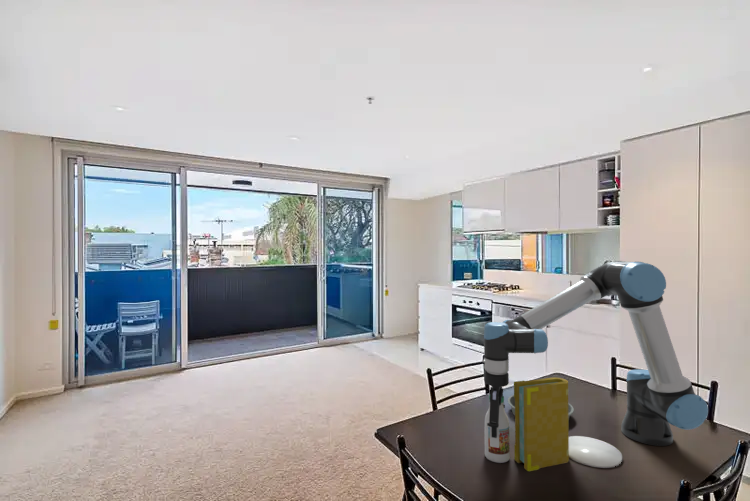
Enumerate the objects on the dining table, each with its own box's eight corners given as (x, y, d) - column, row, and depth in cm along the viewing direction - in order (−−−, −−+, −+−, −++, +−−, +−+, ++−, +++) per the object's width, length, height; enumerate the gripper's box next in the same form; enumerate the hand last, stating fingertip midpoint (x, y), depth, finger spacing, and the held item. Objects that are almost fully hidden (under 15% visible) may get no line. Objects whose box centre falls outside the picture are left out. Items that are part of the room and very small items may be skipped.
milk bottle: (480, 457, 126) (479, 395, 126) (492, 448, 132) (491, 389, 132) (502, 466, 121) (501, 402, 121) (513, 457, 126) (513, 395, 126)
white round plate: (616, 444, 133) (616, 441, 133) (627, 472, 117) (627, 469, 117) (558, 435, 140) (558, 432, 140) (561, 460, 124) (561, 457, 124)
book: (528, 471, 118) (527, 389, 118) (514, 459, 125) (513, 381, 124) (574, 462, 123) (573, 382, 123) (558, 451, 129) (557, 376, 129)
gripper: (488, 359, 139) (489, 418, 139) (479, 382, 116) (479, 453, 116) (511, 361, 136) (511, 422, 136) (505, 385, 113) (505, 458, 113)
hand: (496, 436), depth 126 cm, fingers open, 13 cm apart
